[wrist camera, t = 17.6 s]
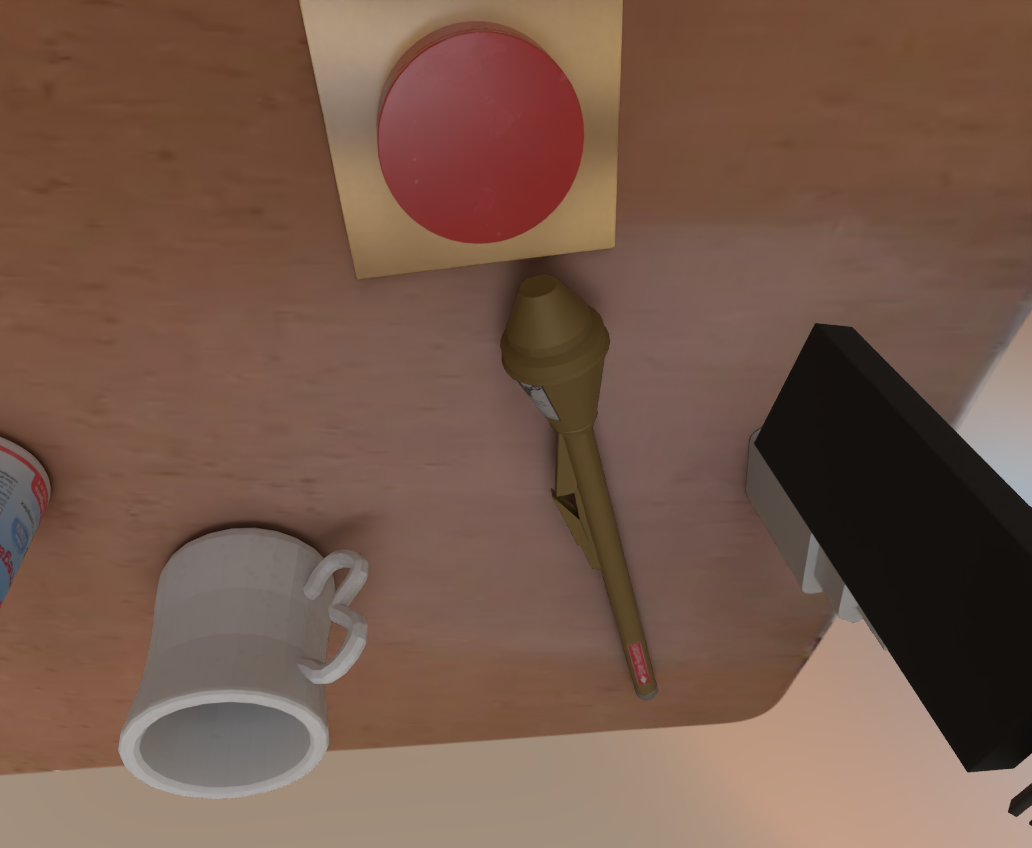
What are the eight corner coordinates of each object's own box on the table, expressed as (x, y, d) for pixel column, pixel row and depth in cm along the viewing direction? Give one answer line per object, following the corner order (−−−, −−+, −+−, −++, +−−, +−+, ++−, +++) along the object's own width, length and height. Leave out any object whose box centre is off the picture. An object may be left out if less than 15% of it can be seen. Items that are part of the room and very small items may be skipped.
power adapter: (805, 418, 41) (938, 591, 31) (795, 488, 44) (912, 664, 35) (750, 430, 41) (867, 608, 31) (744, 500, 44) (848, 679, 35)
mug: (245, 650, 45) (222, 820, 37) (121, 573, 39) (64, 754, 32) (416, 557, 42) (429, 719, 35) (309, 461, 37) (296, 628, 29)
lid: (607, 157, 29) (619, 174, 28) (452, 260, 31) (457, 280, 30) (507, -27, 25) (516, -19, 24) (333, 104, 27) (331, 118, 25)
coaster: (293, -30, 24) (293, -28, 24) (621, -57, 25) (625, -56, 25) (356, 275, 31) (356, 280, 31) (612, 244, 32) (615, 248, 32)
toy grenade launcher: (671, 653, 55) (608, 666, 56) (586, 241, 32) (478, 270, 32) (687, 714, 52) (620, 728, 52) (606, 303, 28) (484, 334, 29)
